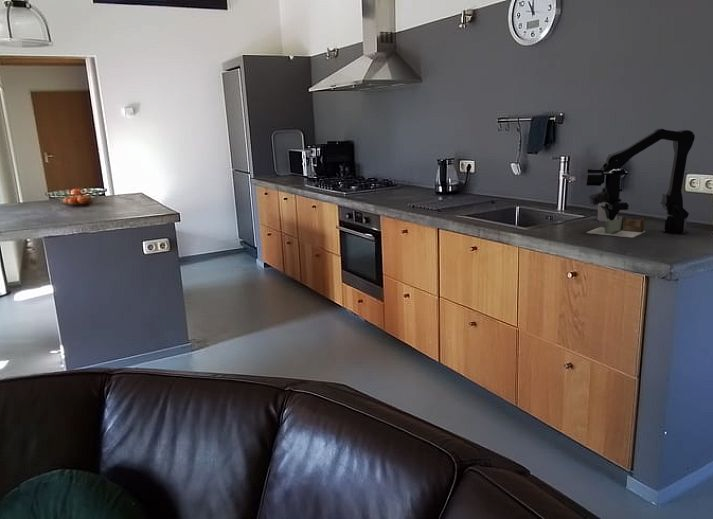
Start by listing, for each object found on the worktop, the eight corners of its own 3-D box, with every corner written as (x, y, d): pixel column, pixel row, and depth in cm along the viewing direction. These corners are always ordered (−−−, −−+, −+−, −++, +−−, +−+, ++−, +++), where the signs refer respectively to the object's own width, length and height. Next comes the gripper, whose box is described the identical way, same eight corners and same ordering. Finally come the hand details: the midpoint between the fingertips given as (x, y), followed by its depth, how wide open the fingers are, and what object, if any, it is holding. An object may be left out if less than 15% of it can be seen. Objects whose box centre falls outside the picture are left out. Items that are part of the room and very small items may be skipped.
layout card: (645, 231, 220) (645, 231, 220) (632, 237, 211) (632, 237, 211) (599, 227, 233) (599, 226, 233) (586, 233, 223) (586, 232, 223)
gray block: (600, 218, 255) (602, 192, 252) (619, 219, 250) (620, 193, 247) (595, 220, 249) (596, 194, 246) (614, 222, 244) (615, 195, 241)
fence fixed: (643, 232, 219) (644, 218, 218) (642, 233, 218) (643, 218, 217) (619, 230, 225) (620, 216, 224) (618, 230, 225) (619, 216, 223)
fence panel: (618, 229, 224) (619, 216, 223) (621, 230, 224) (622, 216, 222) (604, 232, 220) (605, 218, 219) (607, 233, 219) (608, 219, 218)
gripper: (583, 183, 229) (581, 220, 233) (601, 189, 211) (598, 229, 215) (611, 182, 228) (607, 219, 232) (630, 188, 210) (627, 228, 214)
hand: (609, 223), depth 223 cm, fingers closed
